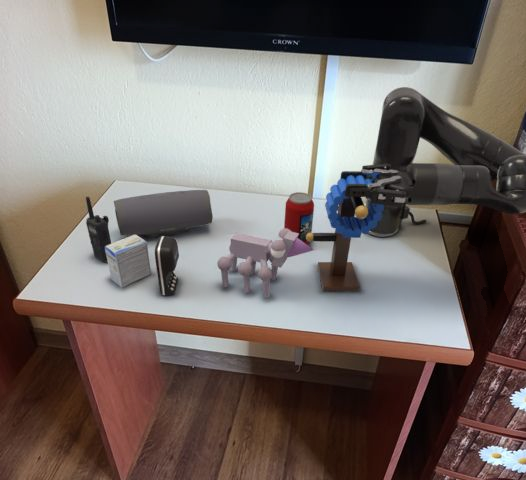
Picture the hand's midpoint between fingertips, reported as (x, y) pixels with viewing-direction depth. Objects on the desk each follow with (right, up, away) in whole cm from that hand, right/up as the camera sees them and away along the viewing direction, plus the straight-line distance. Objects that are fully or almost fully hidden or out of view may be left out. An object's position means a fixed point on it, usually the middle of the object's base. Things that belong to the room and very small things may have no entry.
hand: (343, 183), depth 94 cm
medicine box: (-45, -15, +18) cm, 51 cm away
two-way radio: (-52, -9, +24) cm, 58 cm away
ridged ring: (+2, -7, +7) cm, 10 cm away
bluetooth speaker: (-40, -1, +34) cm, 52 cm away
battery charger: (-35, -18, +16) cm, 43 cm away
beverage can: (-7, -5, +31) cm, 32 cm away
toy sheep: (-15, -17, +17) cm, 28 cm away
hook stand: (0, -17, +17) cm, 24 cm away
